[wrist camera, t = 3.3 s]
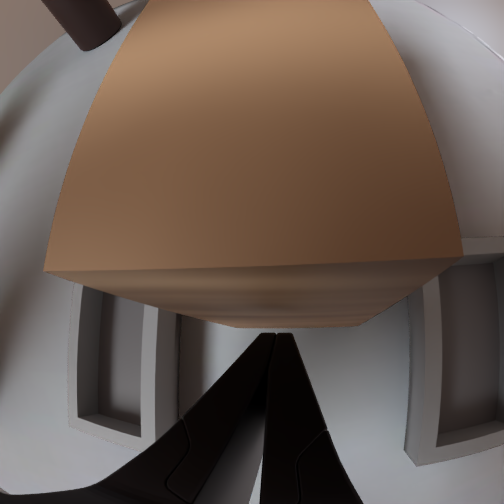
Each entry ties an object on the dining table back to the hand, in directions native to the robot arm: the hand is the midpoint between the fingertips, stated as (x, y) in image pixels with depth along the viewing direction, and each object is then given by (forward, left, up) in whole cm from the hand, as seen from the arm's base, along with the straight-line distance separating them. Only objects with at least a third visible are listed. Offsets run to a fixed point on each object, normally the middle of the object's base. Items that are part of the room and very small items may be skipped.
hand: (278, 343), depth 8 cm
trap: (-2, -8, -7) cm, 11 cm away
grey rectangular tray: (+1, +9, -7) cm, 11 cm away
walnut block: (+8, -1, -7) cm, 10 cm away
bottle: (+41, +18, -7) cm, 45 cm away
